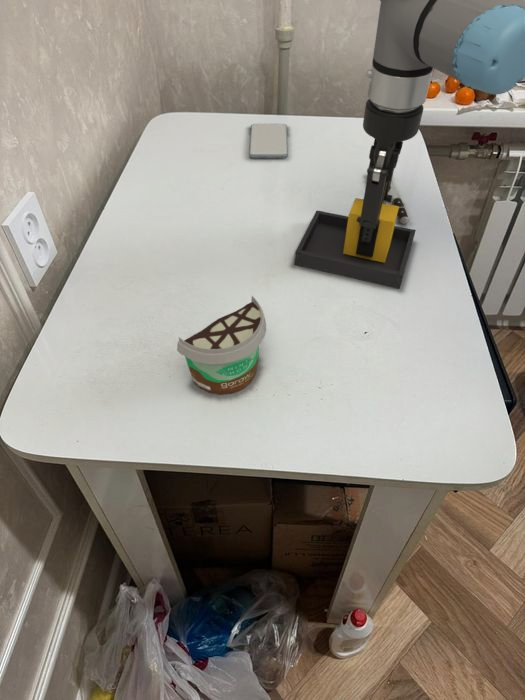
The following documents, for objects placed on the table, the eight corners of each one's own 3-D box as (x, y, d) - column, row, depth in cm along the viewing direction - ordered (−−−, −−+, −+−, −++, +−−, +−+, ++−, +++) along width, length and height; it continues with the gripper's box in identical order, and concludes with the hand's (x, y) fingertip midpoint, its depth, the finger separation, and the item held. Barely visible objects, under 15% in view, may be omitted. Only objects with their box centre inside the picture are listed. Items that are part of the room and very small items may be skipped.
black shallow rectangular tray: (412, 243, 87) (415, 229, 85) (399, 289, 80) (403, 275, 78) (315, 223, 91) (316, 210, 89) (294, 265, 84) (295, 251, 82)
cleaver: (366, 174, 101) (391, 170, 101) (366, 180, 102) (391, 176, 102) (381, 221, 90) (410, 217, 90) (381, 228, 91) (409, 224, 91)
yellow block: (389, 247, 85) (399, 206, 79) (384, 263, 82) (393, 221, 76) (349, 238, 86) (355, 197, 80) (342, 253, 84) (348, 212, 78)
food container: (211, 419, 64) (204, 370, 56) (185, 389, 67) (174, 339, 59) (284, 370, 69) (286, 320, 61) (256, 344, 72) (255, 293, 65)
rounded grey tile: (286, 123, 116) (288, 154, 105) (286, 127, 116) (288, 159, 106) (250, 123, 116) (248, 154, 106) (250, 127, 116) (248, 159, 106)
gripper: (380, 72, 72) (357, 212, 90) (351, 125, 61) (332, 272, 79) (433, 79, 70) (399, 220, 88) (413, 135, 60) (379, 283, 77)
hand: (367, 244), depth 83 cm, fingers closed on yellow block, 4 cm apart
